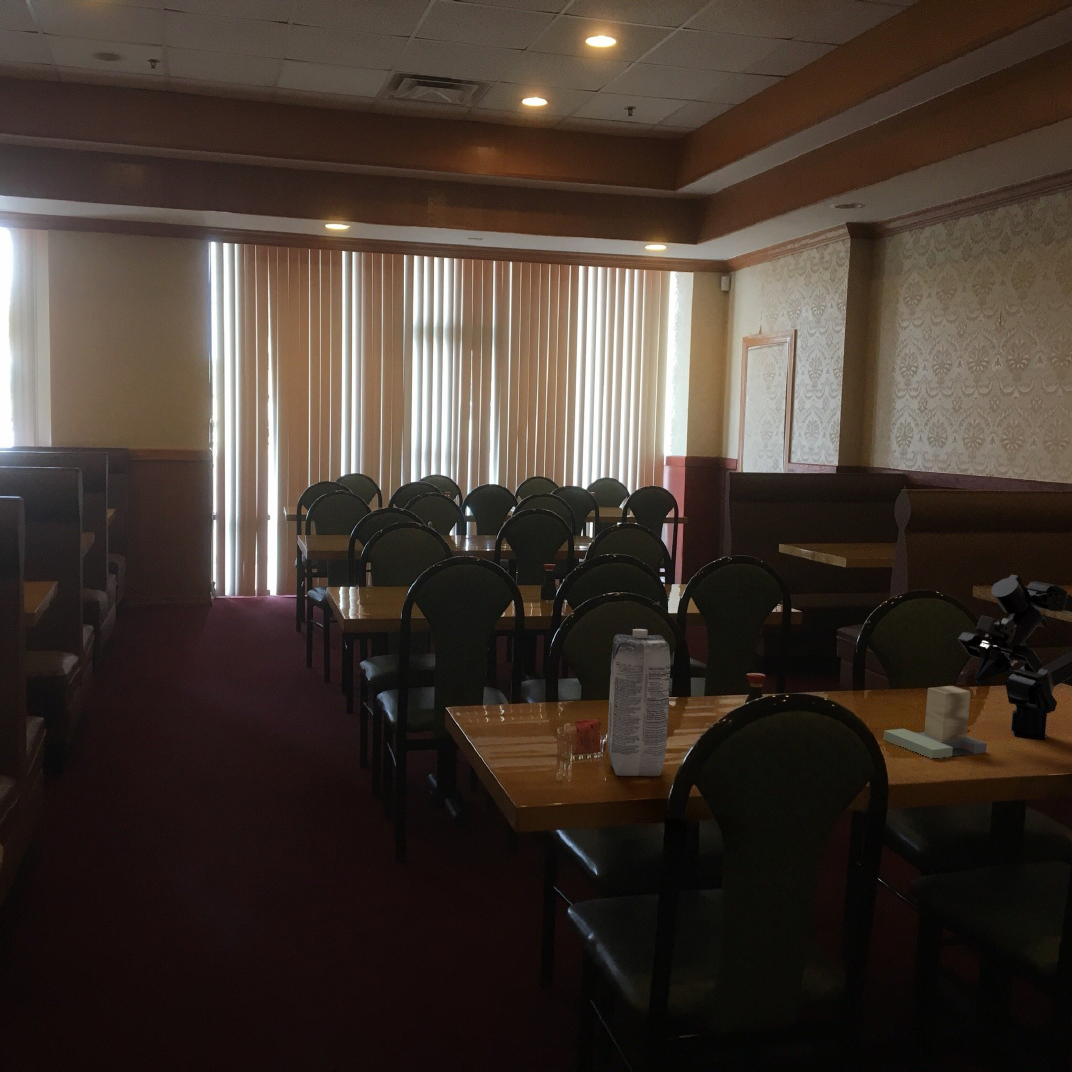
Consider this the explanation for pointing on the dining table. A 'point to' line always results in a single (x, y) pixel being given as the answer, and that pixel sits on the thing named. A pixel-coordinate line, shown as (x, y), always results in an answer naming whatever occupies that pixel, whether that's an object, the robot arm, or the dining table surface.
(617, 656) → the juice carton
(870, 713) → the dining table surface
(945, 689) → the maple block
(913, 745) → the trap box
